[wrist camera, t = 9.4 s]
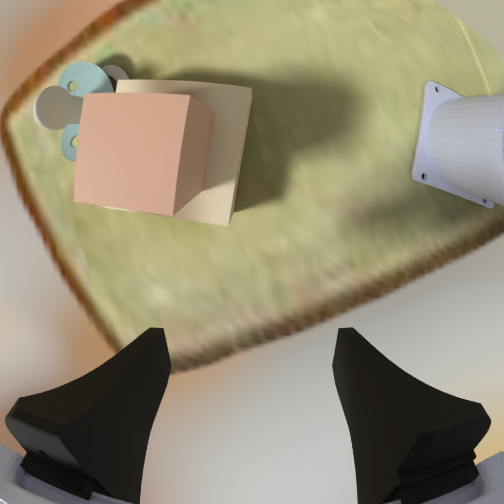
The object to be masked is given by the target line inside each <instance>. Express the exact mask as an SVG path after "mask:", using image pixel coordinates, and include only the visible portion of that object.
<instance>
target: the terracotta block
mask: <svg viewBox="0 0 504 504" xmlns="http://www.w3.org/2000/svg"><path fill="white" fill-rule="evenodd" d="M213 119H214V112H213V111H212V110H210V109H209V108H207V107H206V106H205V105H203V104H202V103H200V102H199V101H198V100H196V99H195V98H193V97H192V96H191V95H181V94H164V93H87V94H84V100H83V106H82V112H81V119H80V127H79V135H78V144H77V155H76V168H75V186H74V202H80V203H87V204H95V205H102V206H109V207H115V208H122V209H129V210H136V211H142V212H149V213H155V214H162V215H168V216H174V215H175V214H176V213H177V212H178V211H179V210H181V209H182V208H183V207H184V206H185V205H186V204H188V203H189V202H190V201H191V200H192V199H194V198H195V197H196V196H197V195H198V194H200V193H201V192H202V188H203V181H204V174H205V168H206V161H207V155H208V149H209V142H210V136H211V131H212V125H213Z"/></svg>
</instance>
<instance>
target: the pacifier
mask: <svg viewBox="0 0 504 504" xmlns="http://www.w3.org/2000/svg"><path fill="white" fill-rule="evenodd" d="M109 77H113V78H114V79H115V80H116V82H118V80H130V79H129V77H128V76H127V74H126V72H125V71H124V70H123V69H121V68H120V67H119V66H116V65H106V66H104V67H103V68H100V67H99V66H97V65H95V64H92V63H88V62H76V63H73V64H71V65H69V66H68V67H67V68H66V69H65V70H64V71H63V73H62V75H61V77H60V80H59V86H50V87H48V88H46V89H44V90H43V91H42V92H41V93H40V94H39V95H38V96H37V98H36V100H35V102H34V106H33V116H34V119H35V121H36V122H37V124H38V125H39V126H40V127H42V128H43V129H46V130H50V131H55V130H60V129H62V128H64V130H63V133H62V139H61V148H62V153H63V155H64V157H65V158H66V159H67V160H70V161H76V155H77V146H75V147H73V146H72V141H73V139H74V138H75V137H76V136H78V135H79V127H80V119H81V112H82V106H83V100H84V94H87V93H114V90H113V86H112V84H111V81H110V79H109ZM73 81H75V82H76V84H77V89H76V91H74V92H71V91H70V89H69V86H70V83H71V82H73Z"/></svg>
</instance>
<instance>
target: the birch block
mask: <svg viewBox="0 0 504 504" xmlns="http://www.w3.org/2000/svg"><path fill="white" fill-rule="evenodd" d="M116 93H164V94H181V95H191V96H192V97H193V98H195V99H196V100H198V101H199V102H200V103H202V104H203V105H205V106H206V107H207V108H209V109H210V110H212V111H213V112H214V119H213V125H212V131H211V136H210V142H209V149H208V155H207V161H206V168H205V174H204V181H203V188H202V192H201V193H200V194H198V195H197V196H196V197H195V198H194V199H192V200H191V201H190V202H189V203H188V204H186V205H185V206H184V207H183V208H182V209H181V210H179V211H178V212H177V213H176V214H175V215H174V216H168V215H162V214H155V213H149V212H142V211H136V210H129V209H122V208H115V207H109V206H104V208H110V209H117V210H125V211H131V212H138V213H145V214H152V215H159V216H165V217H172V218H179V219H185V220H192V221H198V222H204V223H211V224H217V225H223V226H229V223H230V221H231V218H232V215H233V212H234V206H235V199H236V193H237V187H238V181H239V175H240V168H241V162H242V156H243V150H244V145H245V139H246V133H247V127H248V121H249V116H250V110H251V105H252V99H253V96H252V88H251V87H243V86H236V85H228V84H218V83H208V82H196V81H179V80H118V82H117V87H116Z"/></svg>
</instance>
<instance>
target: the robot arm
mask: <svg viewBox="0 0 504 504" xmlns="http://www.w3.org/2000/svg"><path fill="white" fill-rule="evenodd" d="M435 87H436V88H437V89H438V92H437V91H436V90H435ZM423 173H424V175H425V177H424V179H422V178H421V176H422V174H423ZM411 176H412V178H413V180H415V181H417V182H420V183H423V184H426V185H429V186H432V187H435V188H438V189H441V190H444V191H446V192H449V193H452V194H454V195H457V196H460V197H462V198H465V199H468V200H470V201H473V202H475V203H478V204H480V205H482V206H485V207H487V208H490V209H492V208H493V207H494V205H495V203H496V204H499V205H502V206H504V94H494V95H484V96H475V97H467V98H465V97H463V96H461V95H459V94H457V93H455V92H454V91H452V90H450V89H448V88H446V87H444V86H442V85H440V84H438V83H436V82H434V81H427V82H426V83H425V90H424V99H423V107H422V115H421V122H420V128H419V135H418V141H417V146H416V152H415V157H414V162H413V167H412V172H411ZM483 199H484V201H483ZM332 367H333V374H334V379H335V385H336V388H337V392H338V395H339V398H340V401H341V405H342V408H343V411H344V414H345V417H346V421H347V424H348V427H349V431H350V435H351V442H352V448H353V455H354V463H355V471H356V482H357V497H358V504H504V452H503V451H500V452H499V453H497V454H495V455H493V456H491V457H489V458H487V459H485V460H483V461H482V462H480V463H479V464H478V465H476V466H475V463H474V461H473V460H474V459H475V458H476V454H475V452H474V448H475V447H476V446H477V445H478V444H479V442H480V441H481V440H482V438H483V437H484V436H485V435H486V433H487V431H488V430H489V428H490V425H491V419H490V417H489V416H488V414H487V413H486V411H485V409H484V408H483V406H482V405H481V403H477V402H473V401H469V400H465V399H462V398H458V397H456V396H453V395H450V394H447V393H445V392H442V391H440V390H438V389H435V388H433V387H431V386H429V385H427V384H425V383H423V382H422V381H420V380H418V379H416V378H415V377H413V376H411V375H409V374H408V373H407V372H405V371H404V370H402V369H401V368H399V367H398V366H397V365H395V364H394V363H393V362H391V361H390V360H389V359H387V358H386V357H385V356H384V355H383V354H382V353H380V352H379V351H378V350H377V349H376V348H375V347H374V346H373V345H371V344H370V343H369V342H368V341H367V340H366V339H365V338H364V337H363V336H362V335H361V334H359V333H358V332H357V331H356V330H355V329H354V328H352V327H351V328H339V329H338V336H337V341H336V347H335V353H334V359H333V364H332ZM170 369H171V361H170V356H169V352H168V347H167V343H166V338H165V333H164V328H151V327H150V328H149V329H147V330H146V331H145V332H143V333H142V334H141V335H140V336H139V337H137V338H136V339H135V340H134V341H133V342H131V343H130V344H129V345H128V346H126V347H125V348H124V349H123V350H121V351H120V352H119V353H117V354H116V355H115V356H113V357H112V358H111V359H109V360H108V361H106V362H105V363H104V364H102V365H101V366H99V367H97V368H96V369H94V370H93V371H91V372H89V373H87V374H86V375H84V376H82V377H80V378H78V379H76V380H73V381H71V382H69V383H67V384H65V385H62V386H60V387H57V388H55V389H52V390H49V391H45V392H42V393H38V394H34V395H30V396H26V397H21V398H19V399H18V400H17V402H16V403H15V404H14V406H13V407H12V409H11V410H10V411H9V413H8V414H7V416H6V417H5V423H6V426H7V428H8V429H9V431H10V432H11V434H12V435H13V436H14V437H15V439H16V440H17V441H18V442H19V444H20V445H21V446H22V447H23V448H24V449H25V451H26V452H27V453H26V455H25V457H23V456H22V455H21V454H19V453H18V452H16V451H14V450H12V449H11V448H9V447H7V446H5V445H4V444H1V443H0V503H1V504H140V493H141V483H142V475H143V467H144V461H145V456H146V450H147V445H148V440H149V436H150V431H151V428H152V425H153V422H154V419H155V417H156V414H157V411H158V408H159V405H160V403H161V400H162V398H163V395H164V392H165V389H166V387H167V383H168V379H169V374H170Z"/></svg>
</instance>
